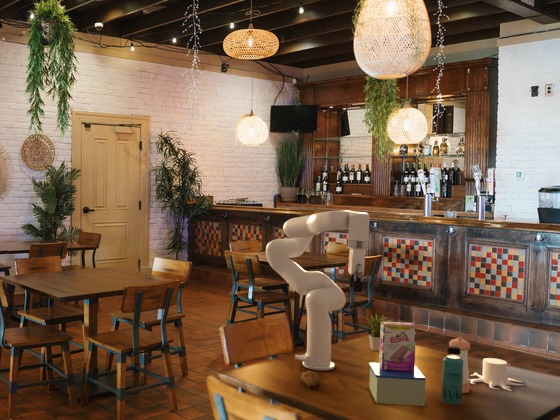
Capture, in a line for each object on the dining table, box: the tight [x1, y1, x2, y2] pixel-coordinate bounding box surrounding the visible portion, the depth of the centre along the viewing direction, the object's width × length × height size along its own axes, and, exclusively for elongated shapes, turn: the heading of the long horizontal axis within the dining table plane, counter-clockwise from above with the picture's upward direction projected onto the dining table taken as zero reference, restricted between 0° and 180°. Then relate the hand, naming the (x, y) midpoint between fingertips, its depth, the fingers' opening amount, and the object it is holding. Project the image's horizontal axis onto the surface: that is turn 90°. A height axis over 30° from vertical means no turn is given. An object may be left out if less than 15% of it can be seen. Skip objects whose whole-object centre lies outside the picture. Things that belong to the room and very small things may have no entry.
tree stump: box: [468, 357, 525, 392], centre depth 245 cm, size 20×19×8 cm
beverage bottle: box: [440, 346, 464, 405], centre depth 218 cm, size 6×7×20 cm
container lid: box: [368, 362, 427, 380], centre depth 226 cm, size 16×16×1 cm
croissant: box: [300, 370, 320, 389], centre depth 240 cm, size 14×7×5 cm, turn 174°
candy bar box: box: [378, 321, 417, 372], centre depth 225 cm, size 11×5×16 cm, turn 84°
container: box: [369, 367, 427, 407], centre depth 226 cm, size 16×16×9 cm
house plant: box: [363, 314, 396, 352], centre depth 288 cm, size 14×14×16 cm
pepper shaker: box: [448, 336, 471, 394], centre depth 235 cm, size 7×7×19 cm
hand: (355, 289), depth 247 cm, fingers open, 9 cm apart
